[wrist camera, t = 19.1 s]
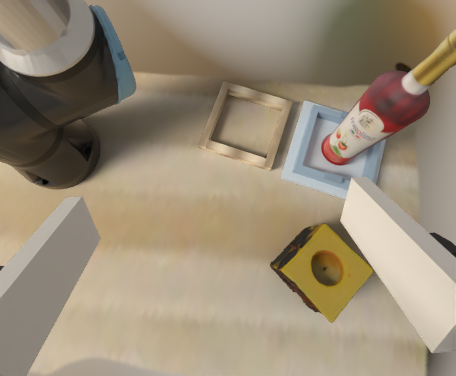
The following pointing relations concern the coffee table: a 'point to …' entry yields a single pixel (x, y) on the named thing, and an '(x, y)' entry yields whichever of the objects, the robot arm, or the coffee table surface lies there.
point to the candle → (322, 270)
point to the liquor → (388, 106)
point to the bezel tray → (315, 161)
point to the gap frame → (254, 97)
